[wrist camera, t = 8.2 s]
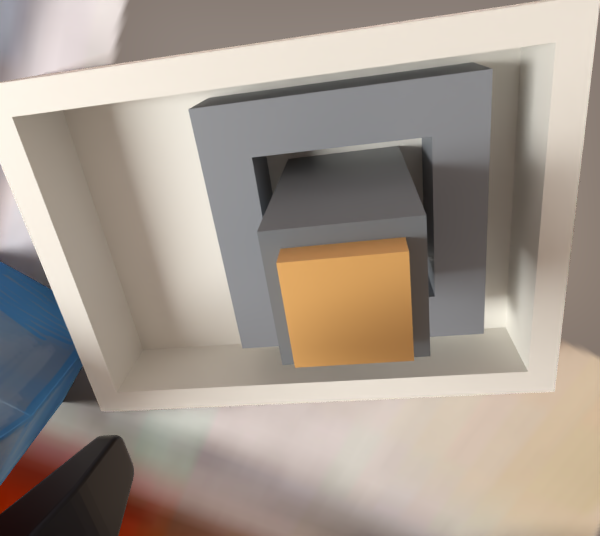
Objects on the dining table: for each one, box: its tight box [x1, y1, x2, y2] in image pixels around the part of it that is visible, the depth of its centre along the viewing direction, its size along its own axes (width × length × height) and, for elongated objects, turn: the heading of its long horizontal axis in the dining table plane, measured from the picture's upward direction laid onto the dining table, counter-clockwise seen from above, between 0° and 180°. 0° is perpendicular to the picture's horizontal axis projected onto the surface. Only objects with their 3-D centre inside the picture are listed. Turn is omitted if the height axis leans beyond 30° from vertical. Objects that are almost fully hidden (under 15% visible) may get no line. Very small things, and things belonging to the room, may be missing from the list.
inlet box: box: [0, 0, 600, 412], centre depth 18 cm, size 13×18×4 cm
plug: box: [257, 146, 430, 368], centre depth 15 cm, size 4×4×8 cm
